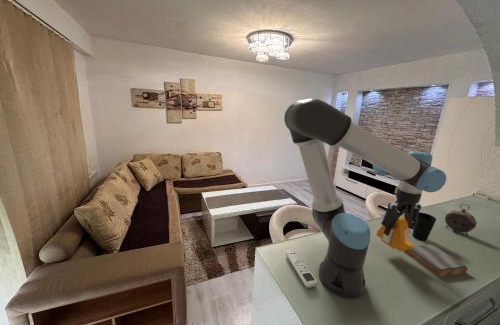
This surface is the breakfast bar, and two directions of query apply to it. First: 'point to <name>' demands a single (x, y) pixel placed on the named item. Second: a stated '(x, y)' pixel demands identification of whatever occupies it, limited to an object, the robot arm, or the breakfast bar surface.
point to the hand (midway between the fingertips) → (394, 240)
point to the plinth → (436, 260)
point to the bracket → (397, 235)
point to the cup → (423, 226)
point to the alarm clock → (460, 220)
